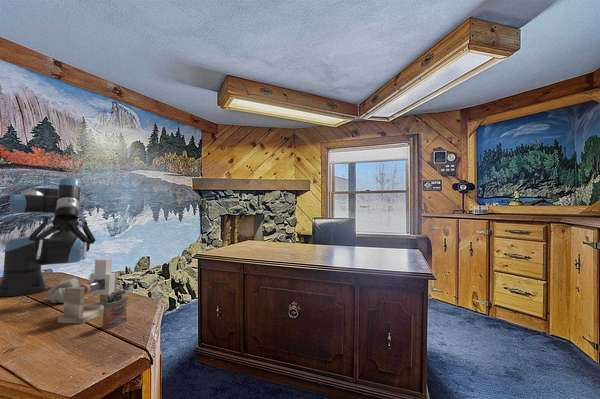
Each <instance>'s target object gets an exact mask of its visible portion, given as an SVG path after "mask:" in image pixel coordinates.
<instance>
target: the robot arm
mask: <svg viewBox="0 0 600 399" xmlns="http://www.w3.org/2000/svg"><path fill="white" fill-rule="evenodd" d="M81 189H82V184H81V181H80V180H78V179H76V178H74V177H64V178H61V179H60V180H59V184H58V187H57V188H53V187H52V188H51V187H35V188H29V189H25V190H23V191H21V192H20V193H19V194H15V193H14V194H11V195H10V197H9V198H10V199H9V211H10V212H11V213H18V214H24V213H25V214H26V213H27V214H34V213H35V214H36V213H41V214H53V215H52V216H53V218H52V219H51V218H49V217H47V216H46V217H44V219H43V222H42V223H41V224H40V225H39V226H38V227H37V228H36V229H34V231H32V233H30V235H28V236H20V237H15V238H11V239H8V240H7V241H6V242H5V246H4V247H5V248H4V251H3V252H4V260H3V274H2V277H1V279H0V297H17V296H25V295H30V294H35V293H39V292H42V291H44V290H46V282H45V279H44V277H43V273H42V266H46V265H61V264H62V265H63V264H72V263H79V262H80V261H84V260H85V259H86V258H87V253H88V252H89V250H90V247H91V246H90V245H91V244H92V245H93V244H95V242H96V238H95V237H94V234H93V233H92V231H91V229H90V228H89V226H88V221H86V220H84V221H83V222H80V221H79V211H80V208H81V191H82V190H81ZM50 224H52V226H51V227H50V228H49V229H47V230H45V231H44V232H42V231H43V230H44V229H45V228H46V227H47V226H49V225H50ZM79 227H80V228H82V231H83V232H82V231H81V230H80V228H79ZM41 232H42V233H41ZM40 233H41V234H40ZM50 235H51V236H50ZM48 236H50V237H48ZM47 237H48V238H47Z"/></svg>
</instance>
